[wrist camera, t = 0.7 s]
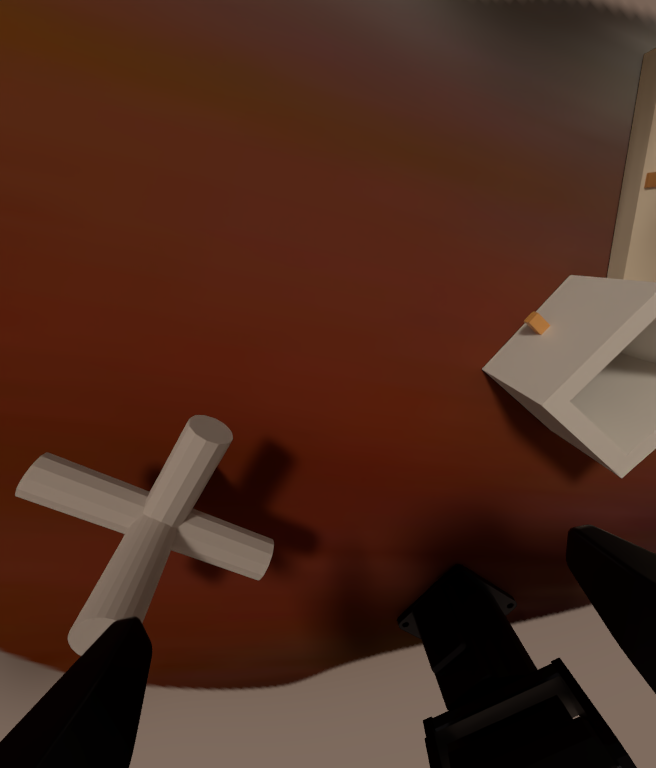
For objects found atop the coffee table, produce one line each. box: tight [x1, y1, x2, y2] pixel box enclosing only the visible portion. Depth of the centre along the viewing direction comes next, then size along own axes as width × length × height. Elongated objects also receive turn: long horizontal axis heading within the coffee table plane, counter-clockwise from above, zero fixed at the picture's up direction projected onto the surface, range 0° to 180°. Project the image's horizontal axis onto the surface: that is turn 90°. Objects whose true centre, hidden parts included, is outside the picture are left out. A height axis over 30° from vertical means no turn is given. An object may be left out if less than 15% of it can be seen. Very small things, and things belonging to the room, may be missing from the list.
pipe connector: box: [15, 415, 274, 656], centre depth 15 cm, size 10×10×10 cm
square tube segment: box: [482, 275, 656, 478], centre depth 18 cm, size 7×6×5 cm
